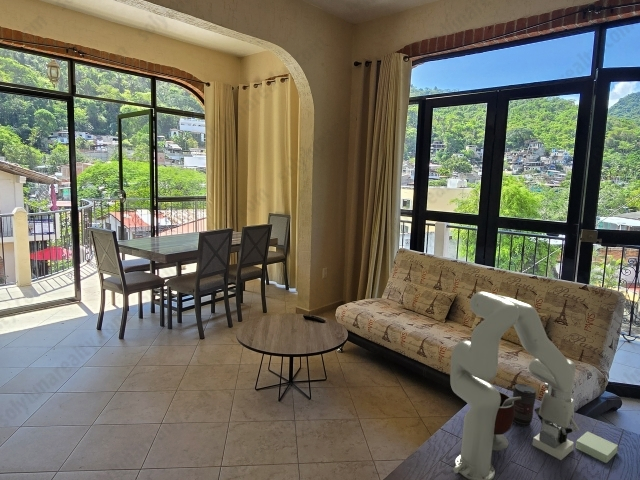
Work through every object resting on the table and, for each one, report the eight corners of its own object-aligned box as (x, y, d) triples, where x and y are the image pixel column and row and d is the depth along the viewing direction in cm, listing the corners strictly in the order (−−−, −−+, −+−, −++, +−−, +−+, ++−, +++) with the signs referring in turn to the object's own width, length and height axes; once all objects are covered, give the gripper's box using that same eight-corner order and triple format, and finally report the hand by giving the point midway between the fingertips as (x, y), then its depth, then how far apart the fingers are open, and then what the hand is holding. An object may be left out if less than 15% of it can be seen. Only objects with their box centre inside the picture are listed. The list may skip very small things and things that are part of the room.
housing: (554, 448, 146) (557, 429, 145) (538, 440, 150) (541, 422, 149) (566, 439, 152) (569, 421, 151) (551, 431, 156) (553, 413, 155)
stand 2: (606, 463, 144) (607, 455, 143) (575, 447, 152) (576, 440, 151) (616, 452, 150) (617, 445, 149) (586, 438, 158) (587, 431, 157)
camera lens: (535, 428, 163) (540, 393, 161) (515, 427, 163) (519, 392, 161) (526, 417, 171) (530, 383, 169) (506, 416, 171) (510, 382, 169)
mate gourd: (468, 444, 152) (473, 394, 149) (473, 424, 164) (478, 378, 161) (514, 458, 145) (520, 406, 142) (516, 437, 157) (521, 388, 154)
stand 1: (560, 460, 145) (562, 452, 144) (532, 445, 152) (533, 437, 152) (573, 449, 150) (574, 442, 150) (545, 435, 158) (546, 428, 158)
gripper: (530, 384, 153) (525, 429, 155) (581, 406, 139) (574, 454, 142) (540, 379, 157) (534, 423, 160) (590, 399, 144) (583, 446, 146)
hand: (553, 437), depth 151 cm, fingers closed on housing, 5 cm apart
